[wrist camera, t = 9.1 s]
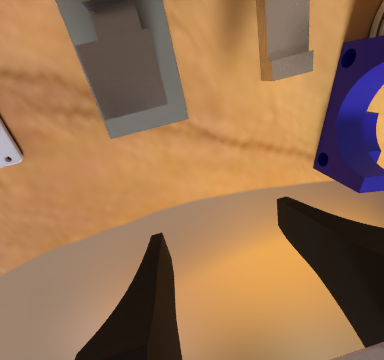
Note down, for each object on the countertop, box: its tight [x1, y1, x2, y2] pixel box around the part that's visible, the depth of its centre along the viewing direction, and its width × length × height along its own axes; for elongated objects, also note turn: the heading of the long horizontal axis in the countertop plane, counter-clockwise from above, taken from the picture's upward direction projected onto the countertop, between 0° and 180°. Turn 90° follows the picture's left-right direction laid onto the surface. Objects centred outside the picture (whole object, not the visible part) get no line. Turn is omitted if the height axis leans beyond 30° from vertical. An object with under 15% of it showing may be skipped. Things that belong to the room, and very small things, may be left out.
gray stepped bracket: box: [75, 0, 168, 120], centre depth 13 cm, size 4×8×7 cm, turn 12°
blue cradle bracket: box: [313, 35, 384, 193], centre depth 20 cm, size 12×4×6 cm, turn 1°
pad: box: [56, 0, 189, 139], centre depth 17 cm, size 7×12×1 cm, turn 13°
